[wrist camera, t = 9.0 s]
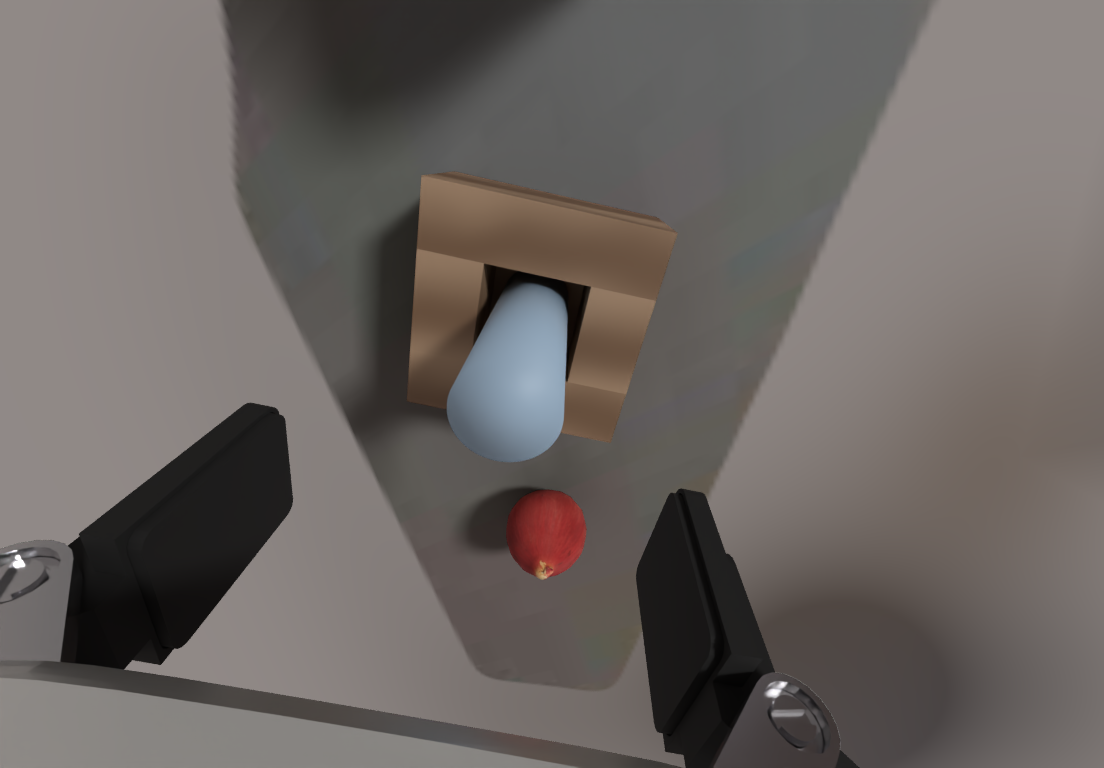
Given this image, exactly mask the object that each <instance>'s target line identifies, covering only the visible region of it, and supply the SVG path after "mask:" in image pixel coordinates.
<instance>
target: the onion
mask: <svg viewBox="0 0 1104 768" xmlns="http://www.w3.org/2000/svg"><path fill="white" fill-rule="evenodd" d="M585 537H586V525H585V520H584V516H583V513H582V510H581V509H580V508H579V506H578V505H577V504H576V503H575V501H574V500H573V499H572V498H571V497H570V496H568V495H566V494H564V493H562V492H560V491H554V490H537V491H534V492H532V493H529V494H527V495H525V496H524V497H522V498H520V500H519V501H518V502H517V503H516V504H515V506H514V507H513V508H512V510H511V512H510V514H509V517H508V522H507V528H506V538H507V543H508V546H509V549H510V553H511V555H512V557H513V558H514V560H515V561H516V562H517V563H518V564H519V565H520V567H521V568H522V569H523V570H524V571H526V572H528V573H530V574H532V575H534V576H536V577H538V578H539V579H541V580H544V579H546V578H548V577H551V576H555V575H558V574H560V573H562V572H564V571H565V570H567V569H569V568H570V567H571V566H572V565H573V563H574V562H575V561H576V560H577V559H578V558H579V556H580V554H581V553H582V550H583V547H584V542H585Z"/></svg>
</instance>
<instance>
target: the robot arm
mask: <svg viewBox="0 0 1104 768" xmlns="http://www.w3.org/2000/svg"><path fill="white" fill-rule="evenodd" d="M292 503H293V495H292V485H291V474H290V464H289V454H288V444H287V434H286V424H285V418H284V417H283V416H282V415H279V411H278V410H277V409H276V408H274V407H269V406H265V405H260V404H255V403H247V404H245V405H243V406H242V407H241V408H239V409H238V410H237V411H236V412H234V413H233V414H232V415H231V416H229V417H228V418H227V419H225V420H224V421H223V422H221V423H220V424H219V425H218V426H216V427H215V428H214V429H213V430H211V431H210V432H209V433H207V434H206V435H205V436H204V437H202V438H201V439H200V440H198V441H197V442H196V443H195V444H193V445H192V446H191V447H189V448H188V449H187V450H186V451H184V452H183V453H182V454H181V455H179V456H178V457H177V458H175V459H174V460H173V461H171V462H170V463H169V464H168V465H166V466H165V467H164V468H162V469H161V470H160V471H159V472H157V473H156V474H155V475H153V476H152V477H151V478H150V479H148V480H147V481H146V482H145V483H143V484H142V485H141V486H139V487H138V488H137V489H136V490H134V491H133V492H132V493H131V494H129V495H128V496H127V497H125V498H124V499H123V500H121V501H120V502H119V503H118V504H116V505H115V506H114V507H113V508H111V509H110V510H109V511H107V512H106V513H105V514H104V515H102V516H101V517H100V518H98V519H97V520H96V521H95V522H93V523H92V524H91V525H89V526H88V527H87V528H86V529H84V530H83V531H82V532H80V533H79V535H80V537H78V538H77V539H76V540H74V541H73V542H72V543H71V544H69V545H68V546H67V545H66V544H64V543H61V542H57V541H54V540H34V541H29V542H23V543H17V544H14V545H11V546H8V547H4V548H1V549H0V768H681V767H677V766H674V765H669V764H666V763H662V762H657V761H652V760H647V759H642V758H637V757H632V756H626V755H621V754H617V753H611V752H606V751H601V750H596V749H591V748H586V747H581V746H575V745H569V744H564V743H558V742H552V741H547V740H541V739H535V738H530V737H524V736H518V735H513V734H507V733H501V732H496V731H490V730H484V729H479V728H473V727H467V726H462V725H456V724H450V723H444V722H438V721H432V720H427V719H421V718H415V717H410V716H404V715H398V714H392V713H386V712H380V711H375V710H368V709H363V708H357V707H351V706H345V705H339V704H333V703H327V702H322V701H316V700H310V699H304V698H298V697H292V696H286V695H280V694H274V693H268V692H262V691H255V690H249V689H243V688H237V687H232V686H225V685H219V684H213V683H207V682H201V681H195V680H189V679H183V678H177V677H170V676H163V675H156V674H150V673H143V672H136V671H129V670H124V669H125V668H126V666H127V665H128V664H129V663H130V662H131V661H132V660H135V661H141V662H147V663H152V664H158V665H161V664H162V663H163V662H164V660H165V659H166V658H167V656H168V655H169V654H170V653H171V652H172V650H173V649H174V648H176V649H178V648H180V647H182V646H183V645H185V644H186V643H187V642H188V640H189V639H190V638H191V637H192V636H193V634H194V633H195V632H196V630H197V629H198V628H199V626H200V625H201V624H202V623H203V621H204V620H205V619H206V618H207V616H208V615H209V614H210V613H211V611H212V610H213V609H214V607H215V606H216V605H217V604H218V603H219V601H220V600H221V599H222V597H223V596H224V595H225V594H226V592H227V591H228V590H229V589H230V587H231V586H232V585H233V583H234V582H235V581H236V580H237V578H238V577H239V576H240V575H241V573H242V572H243V571H244V569H245V568H246V567H247V566H248V564H249V563H250V562H251V561H252V559H253V558H254V557H255V556H256V554H257V553H258V552H259V550H260V549H261V548H262V547H263V545H264V544H265V543H266V542H267V540H268V539H269V538H270V536H271V535H272V534H273V532H274V531H275V530H276V529H277V528H278V526H279V525H280V524H281V522H282V521H283V520H284V519H285V517H286V516H287V515H288V513H289V511H290V509H291V507H292ZM636 582H637V590H638V598H639V606H640V614H641V622H642V630H643V637H644V646H645V654H646V662H647V670H648V678H649V686H650V694H651V702H652V710H653V718H654V724H655V728H656V730H657V732H659V733H663V738H664V745H665V751H666V752H670V753H676V754H682V755H684V760H685V766H686V768H859V767H858V766H857V765H856V764H855V763H854V762H853V761H852V760H850V759H849V758H848V757H847V756H846V755H845V754H844V753H843V752H842V751H841V750H840V741H841V740H840V736H839V732H838V728H837V725H836V723H835V721H834V719H833V717H832V715H831V713H830V711H829V710H828V708H827V707H826V706H825V704H824V703H823V702H822V700H821V699H820V698H819V697H818V696H817V695H816V694H815V693H814V692H813V691H812V690H811V689H810V688H809V687H808V686H806V685H805V684H803V683H802V682H800V681H799V680H797V679H796V678H794V677H791V676H788V675H786V674H783V673H775V671H774V668H773V665H772V663H771V660H770V657H769V654H768V652H767V649H766V646H765V643H764V641H763V638H762V635H761V632H760V630H759V627H758V624H757V621H756V619H755V616H754V614H753V610H752V608H751V605H750V602H749V600H748V597H747V594H746V591H745V589H744V586H743V583H742V580H741V578H740V575H739V572H738V570H737V567H736V564H735V562H734V560H733V558H732V557H731V556H730V555H729V554H726V553H725V550H724V547H723V544H722V541H721V538H720V536H719V533H718V530H717V527H716V524H715V521H714V518H713V516H712V513H711V510H710V507H709V505H708V501H707V499H706V496H705V494H703V493H701V492H696V491H691V490H686V489H679V490H678V491H677V492H676V494H675V493H670V494H669V496H668V498H667V500H666V502H665V505H664V507H663V509H662V512H661V514H660V516H659V518H658V521H657V523H656V525H655V528H654V530H653V532H652V535H651V537H650V539H649V541H648V544H647V546H646V548H645V551H644V553H643V555H642V558H641V560H640V562H639V564H638V568H637V574H636Z"/></svg>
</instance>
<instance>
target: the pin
mask: <svg viewBox="0 0 1104 768" xmlns="http://www.w3.org/2000/svg"><path fill="white" fill-rule="evenodd" d="M567 323H568V291H567V288H566V285H565V283H564V282H563V281H562V280H558V279H553V278H549V277H544V276H539V275H535V274H530V273H526V272H521V271H517V272H516V273H514V274H513V275H512V276H511V278H510V279H509V280H508V282H507V284H506V286H505V288H504V290H503V292H502V293H501V295H500V297H499V299H498V301H497V303H496V305H495V307H494V309H493V310H492V312H491V314H490V316H489V318H488V320H487V322H486V324H485V326H484V327H483V329H482V331H481V333H480V335H479V337H478V339H477V341H476V342H475V344H474V346H473V348H472V350H471V352H470V354H469V356H468V358H467V359H466V361H465V363H464V365H463V367H462V369H461V371H460V373H459V375H458V376H457V378H456V380H455V382H454V384H453V386H452V388H451V390H450V392H449V395H448V400H447V416H448V420H449V423H450V426H451V428H452V430H453V432H454V433H455V435H456V436H457V438H458V439H459V440H460V441H461V442H462V443H463V444H464V445H465V446H466V447H467V448H469V449H470V450H471V451H473V452H475V453H476V454H478V455H480V456H482V457H485V458H488V459H491V460H495V461H501V462H519V461H524V460H528V459H531V458H534V457H536V456H538V455H540V454H541V453H543V452H544V451H546V450H547V449H548V448H549V447H550V446H551V445H552V444H553V443H554V442H555V441H556V439H557V438H558V436H559V434H560V432H561V429H562V426H563V421H564V402H565V375H566V349H567Z"/></svg>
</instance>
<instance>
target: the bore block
mask: <svg viewBox="0 0 1104 768" xmlns="http://www.w3.org/2000/svg"><path fill="white" fill-rule="evenodd" d="M677 234H678V233H677V232H675V231H674V230H673V229H671V228H670V227H669V226H668V225H666V224H665V223H664V222H662V221H661V220H660V219H659V218H657V217H653V216H648V215H644V214H639V213H635V212H631V211H626V210H622V209H617V208H613V207H609V206H604V205H600V204H595V203H591V202H587V201H582V200H578V199H573V198H569V197H564V196H560V195H556V194H551V193H547V192H542V191H538V190H534V189H529V188H525V187H520V186H516V185H512V184H507V183H503V182H498V181H494V180H490V179H485V178H481V177H476V176H472V175H468V174H463V173H459V172H446V173H438V174H430V175H422V178H421V193H420V208H419V223H418V238H417V254H416V269H415V284H414V299H413V314H412V330H411V345H410V360H409V375H408V390H407V402H412V403H417V404H422V405H427V406H432V407H437V408H442V409H447V400H448V395H449V392H450V390H451V388H452V386H453V384H454V382H455V380H456V378H457V376H458V375H459V373H460V371H461V369H462V367H463V365H464V363H465V361H466V359H467V358H468V356H469V354H470V352H471V350H472V348H473V346H474V344H475V342H476V341H477V339H478V337H479V335H480V333H481V331H482V329H483V327H484V326H485V324H486V322H487V320H488V318H489V316H490V314H491V312H492V310H493V309H494V307H495V305H496V303H497V301H498V299H499V297H500V295H501V293H502V292H503V290H504V288H505V286H506V284H507V282H508V280H509V279H510V278H511V276H512V275H513V274H514V273H516V272H517V271H521V272H526V273H530V274H535V275H539V276H544V277H549V278H553V279H558V280H562V281H563V282H564V283H565V285H566V288H567V291H568V323H567V349H566V375H565V402H564V421H563V426H562V429H561V432H560V433H565V434H570V435H575V436H580V437H585V438H590V439H595V440H600V441H604V442H609V443H611V440H612V437H613V433H614V430H615V427H616V424H617V421H618V418H619V415H620V412H621V408H622V405H623V402H624V399H625V396H626V393H627V390H628V387H629V383H630V380H631V377H632V374H633V371H634V368H635V365H636V362H637V358H638V355H639V352H640V349H641V346H642V343H643V340H644V337H645V334H646V330H647V327H648V324H649V321H650V318H651V315H652V312H653V309H654V305H655V302H656V299H657V296H658V293H659V290H660V287H661V284H662V280H663V277H664V274H665V271H666V268H667V265H668V262H669V259H670V255H671V252H672V249H673V246H674V243H675V240H676V237H677Z"/></svg>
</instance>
